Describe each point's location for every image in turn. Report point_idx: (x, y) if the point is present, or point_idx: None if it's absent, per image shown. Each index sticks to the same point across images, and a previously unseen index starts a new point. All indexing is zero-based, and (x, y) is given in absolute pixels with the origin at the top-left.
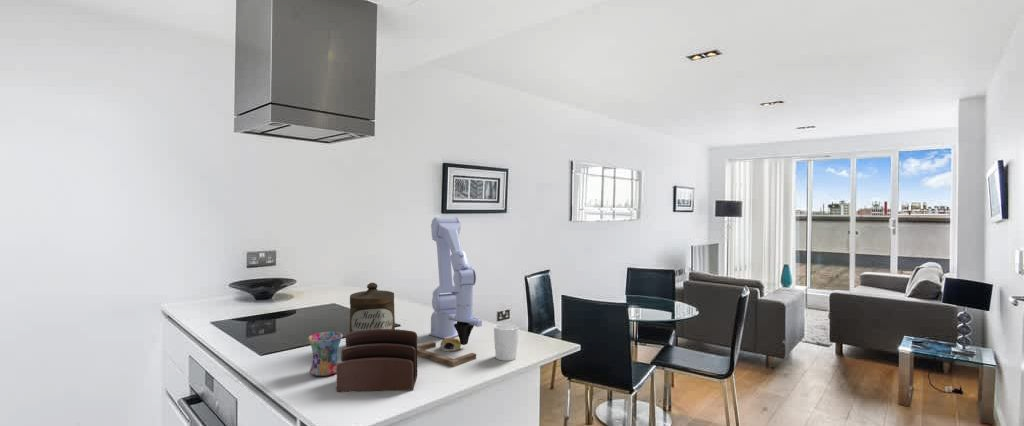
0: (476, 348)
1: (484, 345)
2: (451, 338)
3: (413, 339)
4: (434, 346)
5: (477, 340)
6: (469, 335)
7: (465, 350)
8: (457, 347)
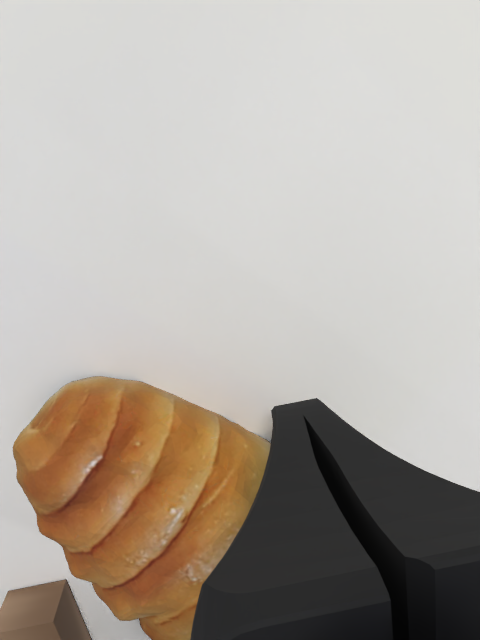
0: (386, 303)
1: (369, 148)
2: (200, 585)
3: None
4: (70, 599)
5: (111, 66)
6: (376, 446)
7: (353, 427)
8: None
